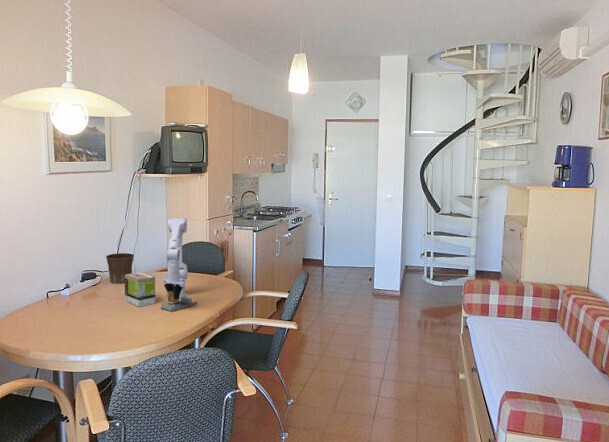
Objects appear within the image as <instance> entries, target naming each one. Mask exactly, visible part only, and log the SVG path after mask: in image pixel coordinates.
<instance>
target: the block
mask: <svg viewBox="0 0 609 442" xmlns="http://www.w3.org/2000/svg"><path fill="white" fill-rule="evenodd" d="M167 294H168V295H167V302H169V303H174V302H178V301H180V298H179V299H175V298H174V290H173V291H169V292H168V293H167Z"/></svg>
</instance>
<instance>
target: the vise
mask: <svg viewBox="0 0 609 442" xmlns="http://www.w3.org/2000/svg"><path fill="white" fill-rule="evenodd" d="M196 305H198V301H196V300H195V301H192V303H189V304H186V303H182V302H181V300H179V301H178V302H174V303H172V302H168V301H163V302H161V306H160V309H161V310H163V311H167V312H170V313H174V312H177V311H180V310H183V309H186V308H189V307H193V306H196Z"/></svg>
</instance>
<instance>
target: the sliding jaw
mask: <svg viewBox="0 0 609 442" xmlns="http://www.w3.org/2000/svg"><path fill="white" fill-rule="evenodd" d="M180 301H181V302H182V303H186V304H189V303H192V302H193V298H192V297H188V296H183V297H182V296H181V297H180Z"/></svg>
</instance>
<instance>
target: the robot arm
mask: <svg viewBox="0 0 609 442" xmlns="http://www.w3.org/2000/svg"><path fill="white" fill-rule="evenodd" d="M167 228H168V230H169V232H170V233H171V238H170V239H169V240H168V248H167V249H166V251H165V252H166V253H165V255H166V265H167V278H166V277H164V278H162V283H163V286H164V288H165V290H166V292H167V293H166V296H168V292H169V291H173V290H174V298H175V299H179V300H180V298H181V296H182V297H184V296H185V297H187V296H189V293H186V280H187V279H188V275H189V274H188V273H189V271H188V264H186V263H184V262H183V235H184V233H187V231H188V229H187V228H188V220H187V218H186V217H169V218H168V219H167Z"/></svg>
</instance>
